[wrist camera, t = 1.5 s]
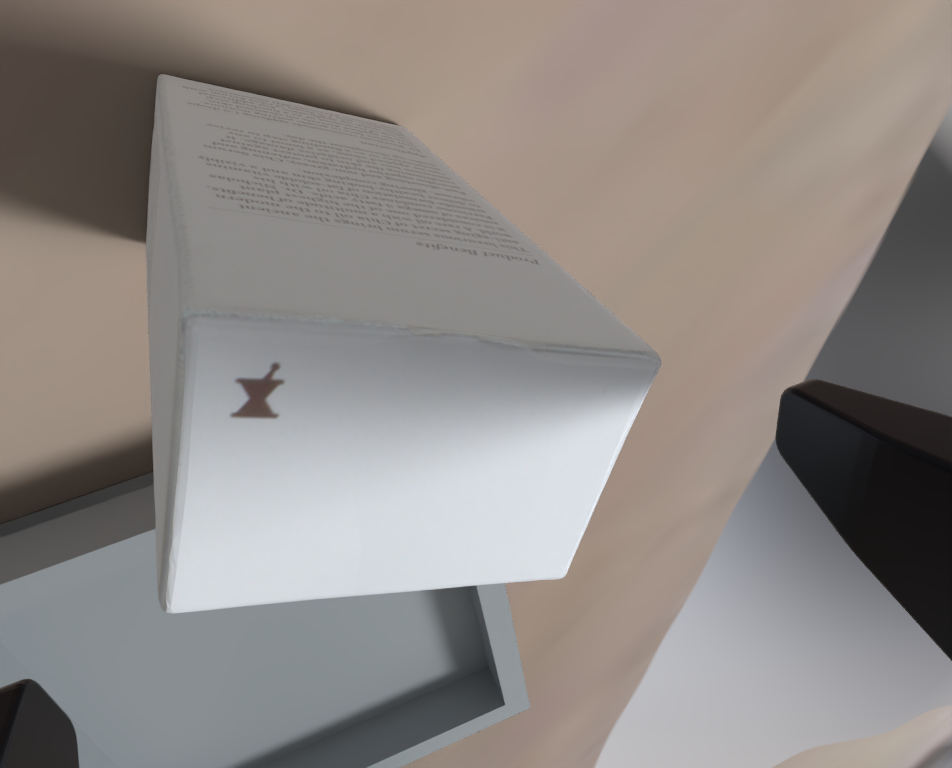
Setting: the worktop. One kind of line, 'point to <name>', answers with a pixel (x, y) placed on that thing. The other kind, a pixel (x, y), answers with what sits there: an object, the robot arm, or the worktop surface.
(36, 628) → the tray
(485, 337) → the skincare box
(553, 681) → the worktop surface
